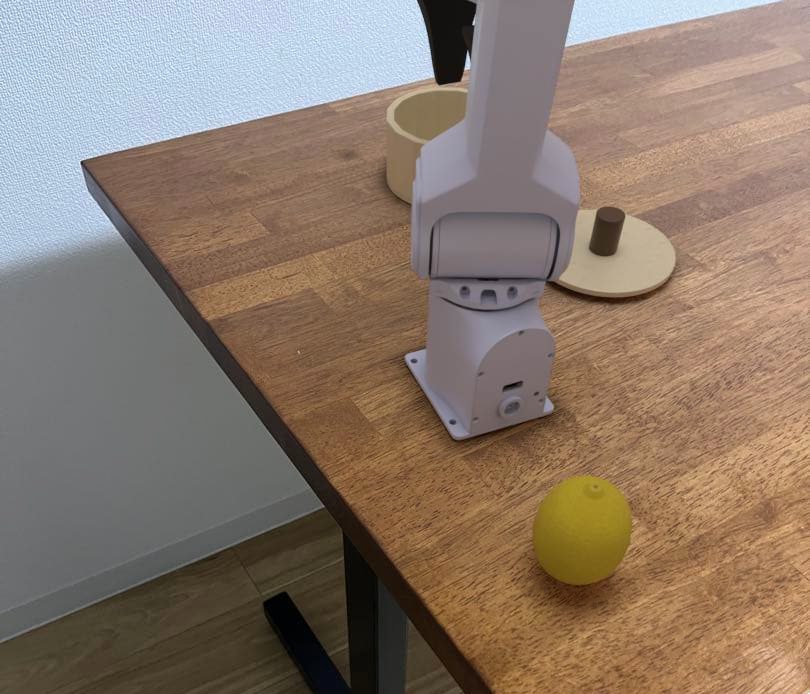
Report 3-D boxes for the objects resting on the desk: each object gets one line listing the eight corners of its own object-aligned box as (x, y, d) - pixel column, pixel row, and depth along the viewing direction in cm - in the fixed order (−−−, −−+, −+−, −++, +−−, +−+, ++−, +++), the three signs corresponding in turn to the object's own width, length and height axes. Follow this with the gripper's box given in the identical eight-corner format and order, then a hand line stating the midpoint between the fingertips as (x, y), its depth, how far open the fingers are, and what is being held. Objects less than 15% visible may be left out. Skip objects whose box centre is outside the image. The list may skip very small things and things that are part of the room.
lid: (701, 284, 68) (717, 238, 65) (573, 317, 65) (584, 271, 62) (623, 209, 75) (634, 164, 72) (504, 236, 72) (510, 190, 69)
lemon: (611, 617, 48) (646, 534, 41) (518, 600, 48) (539, 516, 42) (615, 544, 51) (648, 457, 45) (528, 529, 52) (548, 442, 45)
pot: (525, 197, 76) (535, 133, 71) (414, 221, 73) (416, 156, 68) (473, 141, 82) (479, 79, 78) (369, 161, 79) (368, 98, 75)
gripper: (590, -81, 51) (554, 135, 62) (490, -142, 59) (474, 58, 70) (490, -69, 49) (472, 151, 60) (401, -134, 58) (398, 70, 68)
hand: (467, 102), depth 65 cm, fingers open, 7 cm apart
